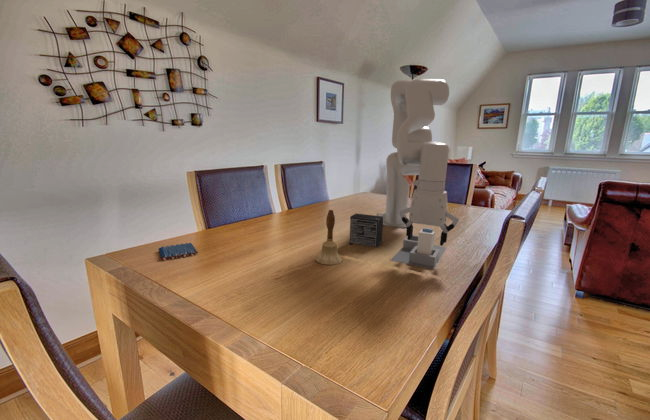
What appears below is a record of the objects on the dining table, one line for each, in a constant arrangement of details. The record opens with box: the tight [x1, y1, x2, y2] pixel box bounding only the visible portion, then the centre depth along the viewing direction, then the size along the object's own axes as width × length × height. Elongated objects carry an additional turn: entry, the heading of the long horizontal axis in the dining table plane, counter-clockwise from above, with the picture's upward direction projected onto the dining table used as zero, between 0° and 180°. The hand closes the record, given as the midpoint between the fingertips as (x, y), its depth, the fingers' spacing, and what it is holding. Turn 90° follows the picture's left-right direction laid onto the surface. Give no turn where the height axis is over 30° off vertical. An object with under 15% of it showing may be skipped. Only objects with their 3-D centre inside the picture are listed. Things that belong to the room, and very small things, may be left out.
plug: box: [417, 227, 436, 256], centre depth 96 cm, size 4×4×10 cm
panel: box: [390, 234, 447, 270], centre depth 102 cm, size 13×22×4 cm, turn 150°
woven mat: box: [157, 242, 198, 262], centre depth 101 cm, size 10×11×2 cm
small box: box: [348, 213, 384, 248], centre depth 112 cm, size 11×6×10 cm, turn 65°
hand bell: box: [315, 209, 343, 266], centre depth 96 cm, size 8×8×16 cm
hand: (425, 241), depth 96 cm, fingers open, 9 cm apart
